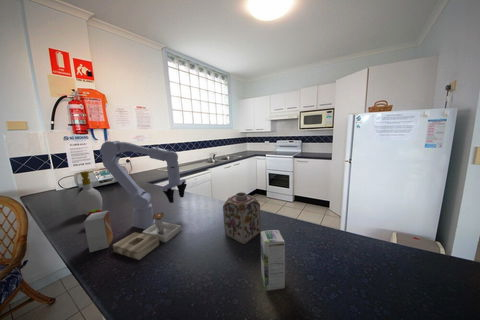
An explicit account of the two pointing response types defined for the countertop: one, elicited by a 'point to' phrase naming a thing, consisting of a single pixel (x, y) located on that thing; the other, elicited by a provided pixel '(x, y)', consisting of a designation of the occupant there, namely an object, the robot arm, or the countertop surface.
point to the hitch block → (136, 245)
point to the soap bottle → (88, 195)
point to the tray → (169, 231)
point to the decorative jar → (242, 217)
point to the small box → (98, 231)
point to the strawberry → (94, 211)
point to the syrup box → (273, 259)
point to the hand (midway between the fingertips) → (176, 199)
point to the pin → (159, 223)
